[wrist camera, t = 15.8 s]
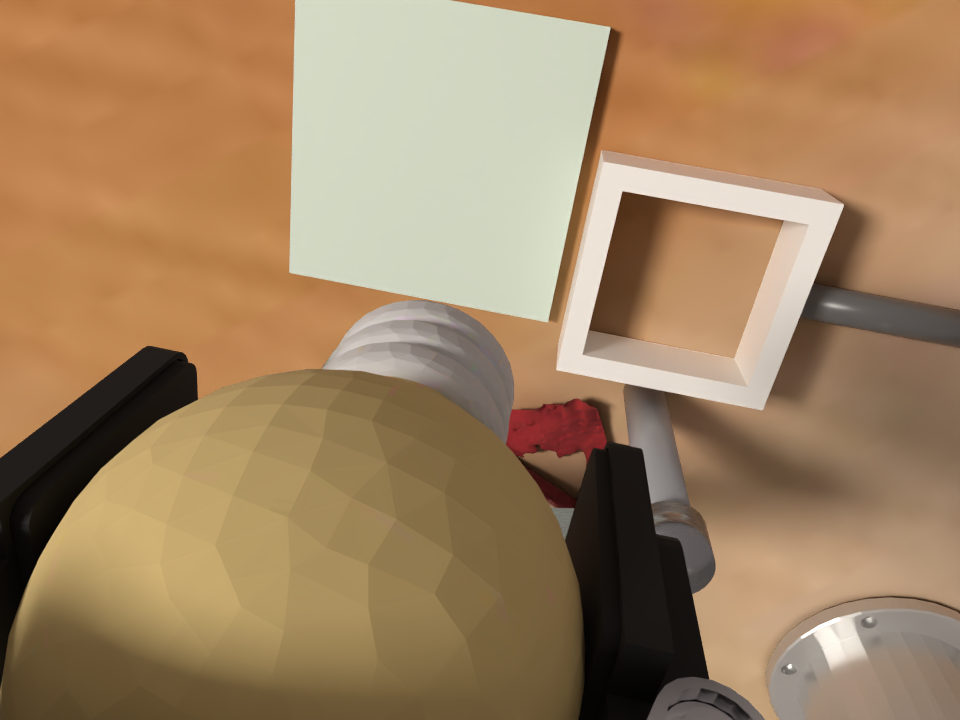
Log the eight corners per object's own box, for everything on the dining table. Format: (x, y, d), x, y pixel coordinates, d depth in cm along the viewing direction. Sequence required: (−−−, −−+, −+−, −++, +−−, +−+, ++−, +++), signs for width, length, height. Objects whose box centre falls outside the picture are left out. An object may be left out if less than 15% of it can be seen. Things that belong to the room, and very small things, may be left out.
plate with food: (595, 380, 36) (595, 413, 32) (683, 730, 45) (690, 782, 42) (200, 455, 42) (168, 489, 39) (351, 748, 51) (335, 795, 48)
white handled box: (1060, 231, 29) (1292, 329, 19) (930, 465, 34) (1061, 630, 25) (601, 149, 30) (610, 205, 20) (547, 390, 35) (535, 521, 26)
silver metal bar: (284, 495, 27) (265, 525, 25) (709, 501, 24) (718, 535, 22) (298, 550, 28) (281, 582, 26) (704, 562, 25) (712, 598, 24)
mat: (610, 27, 28) (610, 27, 27) (548, 317, 33) (547, 322, 33) (301, -25, 28) (295, -26, 28) (294, 268, 34) (289, 272, 34)
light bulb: (227, 353, 15) (-285, 843, 6) (428, 152, 12) (59, 490, 4) (429, 534, 16) (260, 1133, 8) (645, 389, 14) (762, 1030, 5)
